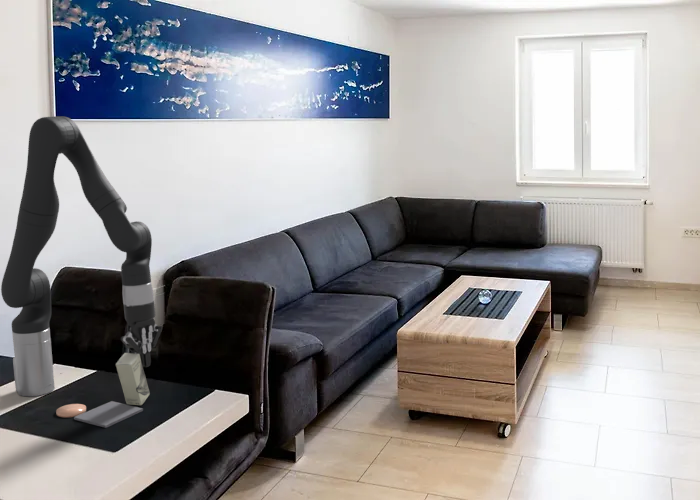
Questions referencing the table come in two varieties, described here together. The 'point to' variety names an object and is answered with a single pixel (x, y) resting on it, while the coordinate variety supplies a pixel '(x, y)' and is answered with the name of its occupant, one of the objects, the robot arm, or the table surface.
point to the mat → (108, 414)
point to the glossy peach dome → (71, 410)
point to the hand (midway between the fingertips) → (145, 366)
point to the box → (132, 379)
